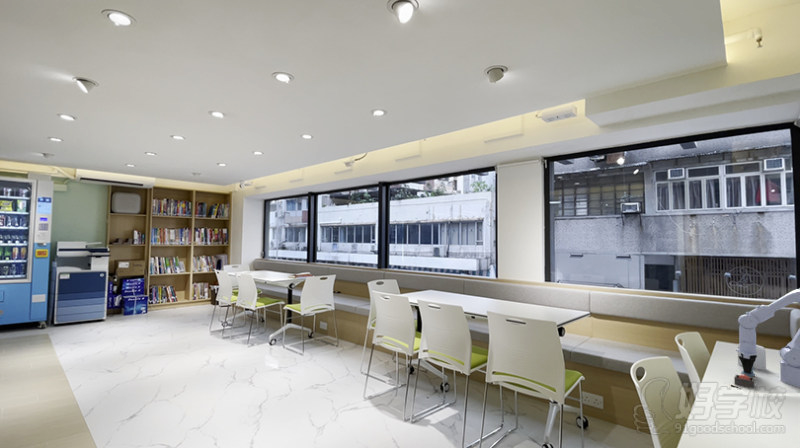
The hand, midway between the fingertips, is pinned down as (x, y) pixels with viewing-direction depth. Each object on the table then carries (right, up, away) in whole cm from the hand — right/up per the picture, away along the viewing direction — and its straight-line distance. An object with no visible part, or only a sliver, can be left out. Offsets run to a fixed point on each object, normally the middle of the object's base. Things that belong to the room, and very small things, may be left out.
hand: (748, 371), depth 171 cm
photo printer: (+14, -4, +13) cm, 20 cm away
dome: (-13, 0, -13) cm, 19 cm away
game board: (-7, -2, -7) cm, 10 cm away
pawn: (0, -2, 0) cm, 2 cm away
